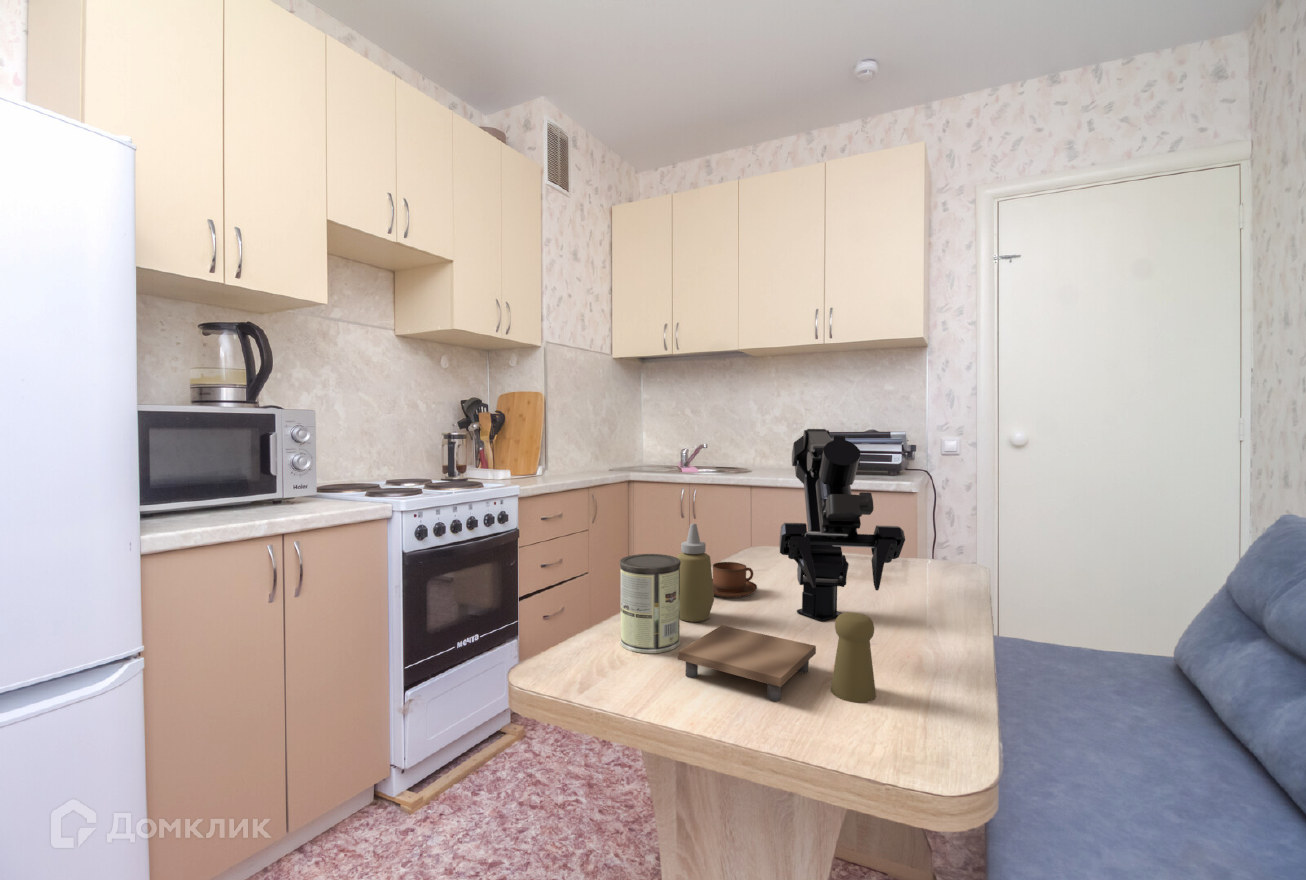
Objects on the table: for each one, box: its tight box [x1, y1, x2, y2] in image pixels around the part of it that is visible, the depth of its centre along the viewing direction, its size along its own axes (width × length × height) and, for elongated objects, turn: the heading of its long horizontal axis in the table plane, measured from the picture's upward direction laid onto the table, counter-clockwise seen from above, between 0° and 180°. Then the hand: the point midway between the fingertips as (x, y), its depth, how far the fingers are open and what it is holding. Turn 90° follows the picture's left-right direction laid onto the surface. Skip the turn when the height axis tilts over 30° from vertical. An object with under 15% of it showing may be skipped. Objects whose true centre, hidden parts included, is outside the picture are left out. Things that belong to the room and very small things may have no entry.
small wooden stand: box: [677, 624, 817, 702], centre depth 91 cm, size 16×14×4 cm
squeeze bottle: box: [676, 523, 715, 623], centre depth 115 cm, size 8×8×18 cm
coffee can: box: [619, 553, 681, 654], centre depth 103 cm, size 10×10×14 cm
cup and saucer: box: [712, 561, 758, 599], centre depth 132 cm, size 12×12×6 cm
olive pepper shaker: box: [830, 611, 877, 704], centre depth 84 cm, size 6×6×11 cm
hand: (845, 587), depth 91 cm, fingers open, 9 cm apart
